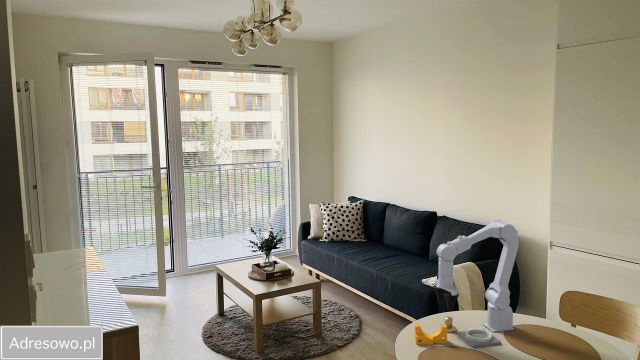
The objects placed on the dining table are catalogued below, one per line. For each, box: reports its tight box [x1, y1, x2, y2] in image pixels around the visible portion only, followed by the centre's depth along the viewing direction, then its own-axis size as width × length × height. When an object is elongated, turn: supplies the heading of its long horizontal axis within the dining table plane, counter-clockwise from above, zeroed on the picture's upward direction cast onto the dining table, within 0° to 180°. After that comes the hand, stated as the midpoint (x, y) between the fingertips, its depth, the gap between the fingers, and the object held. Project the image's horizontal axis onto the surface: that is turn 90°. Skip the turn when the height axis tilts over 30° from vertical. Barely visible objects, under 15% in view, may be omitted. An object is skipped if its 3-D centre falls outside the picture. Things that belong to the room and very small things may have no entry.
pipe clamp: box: [414, 323, 448, 346], centre depth 183 cm, size 12×4×6 cm, turn 85°
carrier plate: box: [456, 328, 502, 348], centre depth 185 cm, size 12×12×2 cm
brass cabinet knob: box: [444, 316, 457, 334], centre depth 194 cm, size 6×6×5 cm
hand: (445, 306), depth 192 cm, fingers open, 7 cm apart
